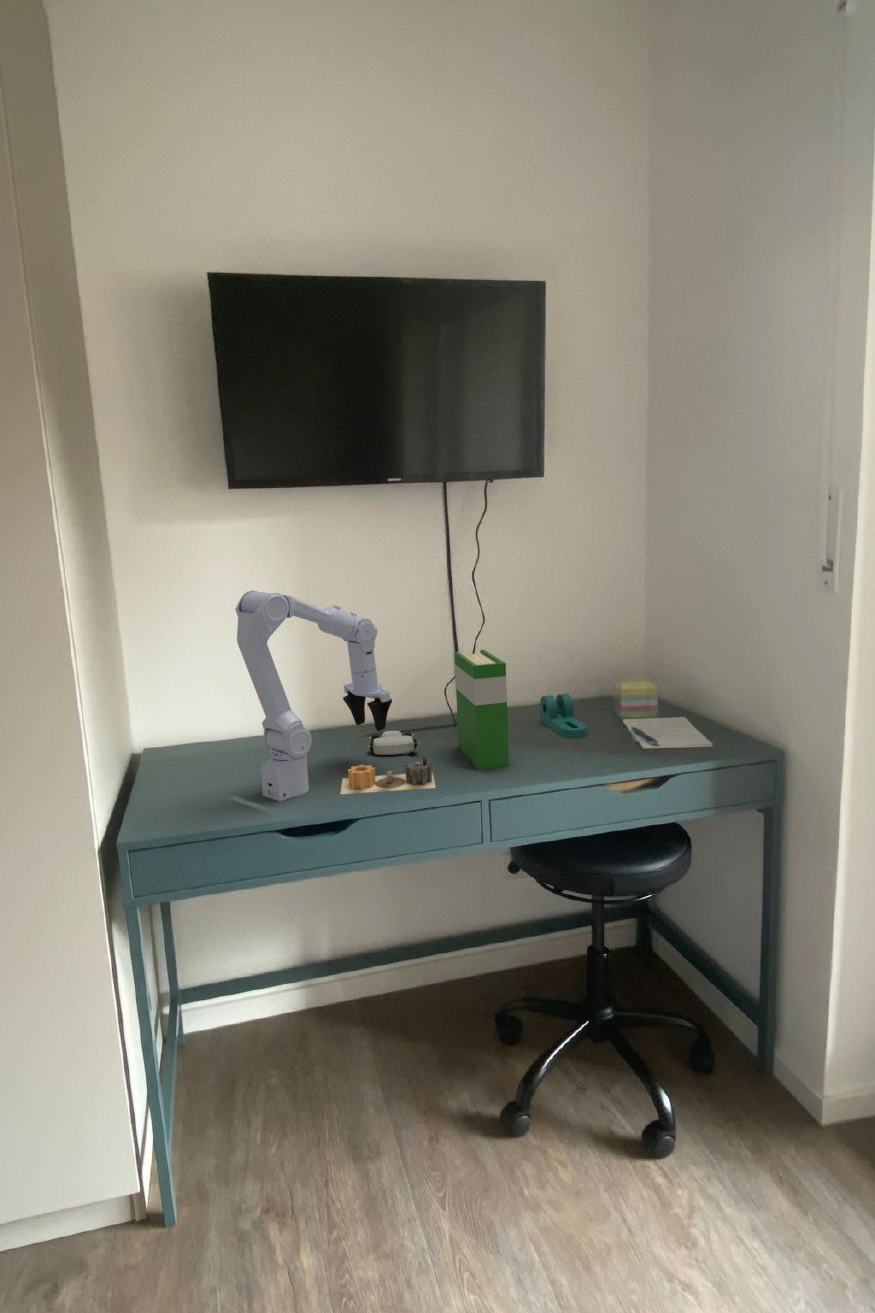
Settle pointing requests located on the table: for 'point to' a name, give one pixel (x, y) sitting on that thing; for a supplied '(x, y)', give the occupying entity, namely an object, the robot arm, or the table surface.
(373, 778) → the orange gear
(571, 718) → the bracket
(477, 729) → the hardback book
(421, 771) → the gear board
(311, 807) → the table surface
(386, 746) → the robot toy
